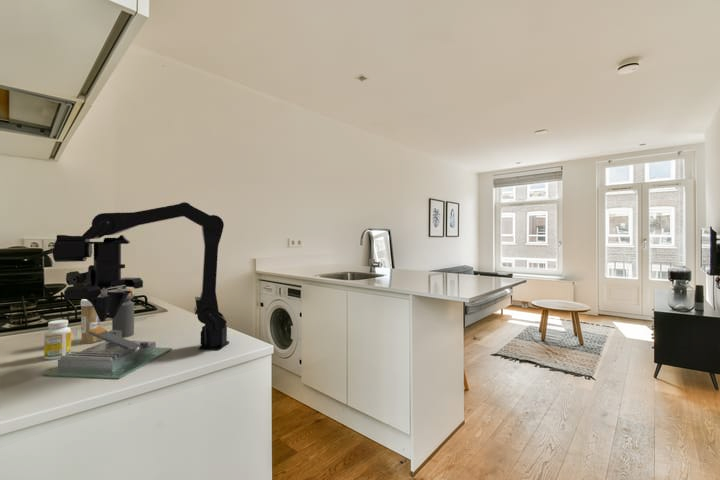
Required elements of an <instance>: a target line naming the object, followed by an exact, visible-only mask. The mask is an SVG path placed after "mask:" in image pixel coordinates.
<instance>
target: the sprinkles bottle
mask: <svg viewBox="0 0 720 480" xmlns="http://www.w3.org/2000/svg"><path fill="white" fill-rule="evenodd" d="M80 307H81V316H80V319H81V321H80V333H81V340H80V344H81V343H82V344H83V345H84V344H93V343H96V342H99V341H100V340H97V337H95V336H93V335H90V334H89V331H90V330H91V329H94V328H97V327H100V320H99V317H98V315H97V313H96V311H95V309H94V307H93V305H92V304H91V302H90V301H88V300H87V299H80Z"/></svg>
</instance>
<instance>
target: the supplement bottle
mask: <svg viewBox="0 0 720 480" xmlns="http://www.w3.org/2000/svg"><path fill="white" fill-rule="evenodd" d="M47 327H48V329H47V330H46V331H45V332H44V337H43V338H44V339H43V340H44V345H43V347H44V353H43V356H44V357H43V358H44V359H45V360H59V359H60V356H62V355H66V354H67V353H71V352H72V329H71V327H69V320H68V319H56V320H52V321H48V324H47Z"/></svg>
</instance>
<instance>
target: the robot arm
mask: <svg viewBox="0 0 720 480" xmlns="http://www.w3.org/2000/svg"><path fill="white" fill-rule="evenodd" d="M177 218H186V219H188V220H190V221H191V222H193V223H194V224H196V225H199V226H200V228H201V233H202V238H203V245H204V246H203V247H204V248H203V249H204V251H203V262H202V263H203V266H202V283H201V284H202V286H201V292H200V296H195V297H194V300H195V301H194V302H195V306H194V309H193V312H194V315H197V320H198V321H199V322H200V323H201V324H203V326H201V331H200V346H198V349H199V350H221V349H222V348H224V347H225V346H226V345H228V344H230V341H229V340H228V338H227V337H228V324H227V320H226V318H225V316H224V314H223V313H221V312H220V309H219V304H218V303H219V302H218V299H217V293H216V289H217V274H218V273H217V271H218V257H219V256H218V254H219V245H220V241H221V239H222V234H223V231H224V227H225V225H224V221H223V219H222V218H221V217H220V216H218V215H216V214H208V213H206V212H205V211H203V210H201V209H199V208H197V207H195V206H193V205H191V204H190V203H188V202H185V201H184V202H180V203H177V204H172V205H167V206H161V207H155V208H151V209H145V210H139V211H134V212H103V213H99V214H97V215H95V216H94V217H93V219H92V221H91V226H90V227H89V228H88V229H87V230H86V231H85V232H84V233H83V234H82V235H67V234H66V235H65V234H57V235H56V240H55V242H54V245H53V248H52V258H53V260H54V262H55V263H70V262H73V263H74V262H75V263H77V262H86V261H87V259H88V258H92V256H93V264H91V265H89V266H88V267H87V271H85V272H81V273H80V271H78V270H75V271H74V270H73V271H69V272H67V273H65V274H66V275H65V281H66V284H67V285H68V286H67V287H66V288H65V289H64V291H63V292H64V293H63V296H64V297H63V298H64V300H65V299H66V300H82V299H87V300H88V301H90V302H91V304H92V305H93V307H94V309H95V311H96V313H97V315H98V317H99V322H106V320H107V317H108V315H109V319H110V320H111V319H113V318H115V316H116V314H117V312H118V311H119V309H120V307H121V305H122V304H123V302H124V300H125V299H126V297H127V296H128V294H129V293H131V291H127V289H128V288H133V289H135V290H137V289H140V288H143V287H144V281H143V280H142V278H141V277H122V269H125V268H126V263H122V245H128V244H131V241H130V240H129V239H127V238H126V236H125V235H123V234H121V235H119V236H118V237H104V236H114V235H118V234H120V233H123V232H126V231H128V230H130V229H133V228H136V227H139V226H143V225H148V224H151V223H152V224H153V223H156V222H158V223H159V222H162V221H168V220H172V219H177ZM103 237H104V239H103V241H91V240H98V239H100V238H101V239H102V238H103ZM92 254H93V255H92ZM131 294H132V293H131Z"/></svg>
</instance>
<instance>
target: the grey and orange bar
mask: <svg viewBox="0 0 720 480" xmlns="http://www.w3.org/2000/svg"><path fill="white" fill-rule="evenodd" d="M108 331H109V330H108V329H107V328H105V327H101V326H99V327H97V328H94V329H91V330H90V331H89V334H90V335H93V336H95V337H97V338H100V339H102V340H101V341H103V342H106V341H107V342H109V343H112V344H114V345H116V346H119V347H121V348H124V349H126V350H127V349H128V348H135V352H137V351H139V350H141V349H143V348H144V346H143V345H142V346H141V345H139V344H136V343H134V342H132V341H133V340H129V339H126V338H125V337H123V338H122V337H120V336H117V335H115V334H112V333H110V332H108Z"/></svg>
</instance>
